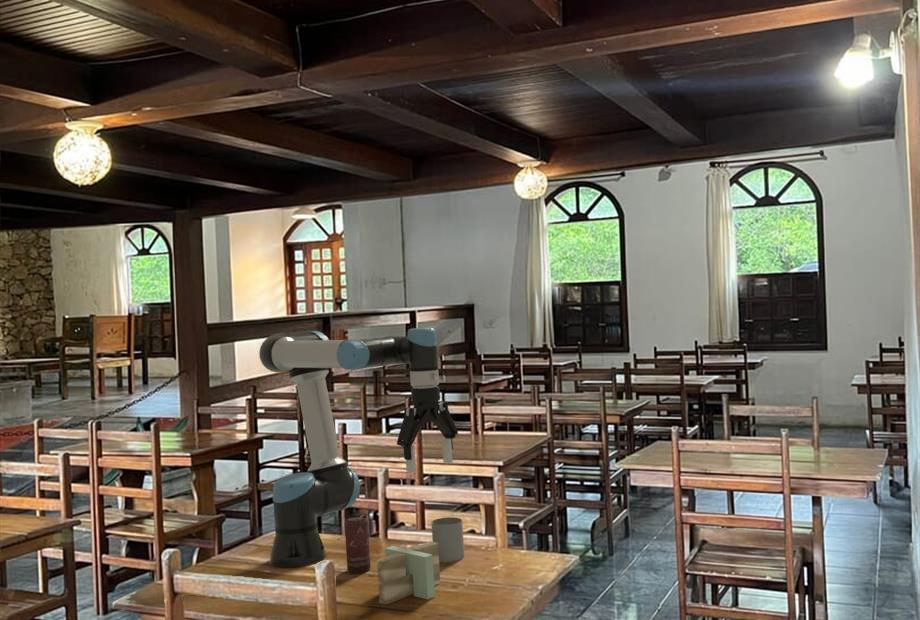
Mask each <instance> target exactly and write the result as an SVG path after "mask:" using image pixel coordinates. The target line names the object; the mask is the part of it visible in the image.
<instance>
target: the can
mask: <svg viewBox="0 0 920 620" xmlns="http://www.w3.org/2000/svg"><path fill="white" fill-rule="evenodd" d="M344 534H345V553H346V565H347V566H346V568H347V571H348V572H349V573H350V574H357V575H358V574H363V573H366V572H369V571H370V569H371V555H370V554H371V552H370V538H369V537H370V535H369V519H368V518H367V517H366V516H365V515H363V514H362V515H352V516H348V517H346V518H345V520H344Z"/></svg>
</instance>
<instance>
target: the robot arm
mask: <svg viewBox="0 0 920 620" xmlns="http://www.w3.org/2000/svg"><path fill="white" fill-rule="evenodd" d="M258 354H259V355H258V356H259V360H260V362H261V364H262V366H263V367H265V368H266V370H268V371H270V372H272V373H273V372H274V373H289V379H290V380H291V381H292V382H293V383H295V385H296V388H297V392H298V400H299V405H300V409H301V415H302V420H303V425H304V431H305V435H306V440H307V445H308V446H307V447H308V451H309V455H310V456H309V457H310V461H311V464H310V466H309V467H308V469H307V471H306V472H305V471H303V472H297V473H291V474H288V475H285V476H283V477H280V478H278V479H277V480H276V481H275V482H274V484H273V487H272V502H273V514H274V515H273V517H274V531H275V532H274V533H275V535H274V539H273V544H272V548H271V552H270V554H269V555H270V564H271V565H273V566H276V567H279V568H280V567H281V568H296V567H304V566H309V565H314V564H316V563H319V562H321V561H322V560H324V559H325V557H326V549H325V546H324V544H323V541H322V537H321V535H320V533H319V530H318V521H317V520H318V519H317V518H318V517H320V516H324V515H328V514H331V513H335V512H340V511H343V510H344V509H348V508H349V507H351V506H353V505H354V504H355V502H356V500H357V499H358V497H359V495H360V480H359V476H358V475H357V473H355V470H353V469H352V468H349V467H348V462H347V460H345V459H344V458H343V457H341V453H340V448H339V443H338V438H337V437H338V436H337V433H336V432H337V431H336V427H335V423H334V417H333V411H332V407H331V401H330V397H329V391H328V388H327V387H328V386H327V381H326V377H327V375H328V374H329V372H330V370H329V369H344V370H346V371H347V370H348V371H349V370H351V371H356V370H357V371H358V370H361V369H367V368H377V367H385V366H393V365H409V378H410V386H411V387H412V388H411V389H410V393H411V395H410V396H411V402H412V403H413V407H405V408H404V411H403V413H404V414H403V415H404V417H403V419H402V423H401V427H400V430H399V435H398V436H397V441H396V445H397V446H400V447H403V459H404V460H405V468H406V473H413V474H414V473H416V472H417V468H416V465H417V464H416V454H415V453H416V452H415V446H413V444H414V442H415V441H416V438H417V436H418V434H419V432H420V430H421V428H422V426H423V425H424V424H427V423H430V422H433V424H434V425H435V426H436V428H437V429H438V430H439V431H440V434H441V435H442V436H443V437H442V438H441V445H442V462H443V463H444V464H453V450H454V449H453V448H454V445H453V444H454V443H453V439H455V438H456V435H457V436H458V434H459V431H458V428H457V426H456V424H455V421H454V419H453V417H452V414H451V412H450V410H449V404H448V402H447V401H440V400H441V389H440V387H439V386H438V385H439V384H440V378H439V377H440V376H439V363H438V362H439V357H438V340H437V331H436V330H435V328H433V327H420V328H419V327H416V328H415V327H414V328H409V329H408V330H407V335H403V336H397V335H395V336H394V335H393V336H392V335H389V336H388V335H387V336H382V337H374V338H362V339H361V338H360V339H329V338H328V336H327V335H325V334H324V333H323V332H321V331H317V330H303V331H302V330H301V331H293V332H292V331H291V332H290V331H289V332H280V333H279V332H278V333H273V334H271V335H270V336H268V337H267V338H266V339H265V340H264V341H263V342H262V343H261V345H260V348H259V353H258ZM318 561H319V562H318Z"/></svg>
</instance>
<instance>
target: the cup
mask: <svg viewBox="0 0 920 620" xmlns="http://www.w3.org/2000/svg"><path fill="white" fill-rule="evenodd" d="M431 535H432V537H431V538H432V540H431V541H432V542H435V543H438V554H439V563H452V562H453V563H454V562H458V561H461V560H463V559H464V558H465V546H464V528H463V519H462V518H460V517H451V516H450V517H440V518H436V519H433V520H432V521H431Z"/></svg>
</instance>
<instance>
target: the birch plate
mask: <svg viewBox="0 0 920 620" xmlns="http://www.w3.org/2000/svg"><path fill="white" fill-rule="evenodd" d="M411 550H414V551H418V552H423V553H428V554H432V555H433V570H434V586H438V585H439V584H441V573H440V562H439V554H438V543H435V542H433V541H429V542H425V543H423V544H420V545H417V546H414V547H412V548H411ZM376 564H377V565H376V566H377V567H376V568H377V582H378V599H379V603H380V604H383V605H389V604H391V603H395V602H397V601H399V600H402V599H405V598H407V597H409V596H411V595H414V587H413V575H411V574H406V566H405V554H400V553H397V554H394V555H391V556H388V557H386V556H385V557H382V558H380V559H377V560H376Z"/></svg>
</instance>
